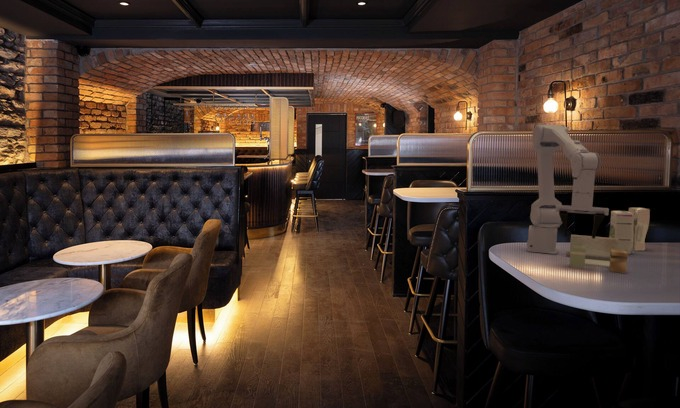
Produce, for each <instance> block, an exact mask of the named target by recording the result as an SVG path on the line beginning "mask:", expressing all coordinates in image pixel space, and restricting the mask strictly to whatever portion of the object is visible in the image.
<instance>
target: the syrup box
mask: <svg viewBox="0 0 680 408" xmlns="http://www.w3.org/2000/svg"><path fill="white" fill-rule="evenodd" d="M628 211H629V210H628ZM628 211H627V210H611V211H610V222H609V223H610V225H609V236H608V238H618V240H619V242H618V250H622V251H626V252H627V253H628V254H627V255H631V251H632V250H631V241H632V227H633V213H630V212H628Z"/></svg>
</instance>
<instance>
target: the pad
mask: <svg viewBox="0 0 680 408" xmlns="http://www.w3.org/2000/svg"><path fill="white" fill-rule="evenodd" d="M585 266H592V267H600V268H601V267H602V268H609V266H610V261H604V260H594V259H585Z"/></svg>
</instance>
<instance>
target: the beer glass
mask: <svg viewBox="0 0 680 408" xmlns="http://www.w3.org/2000/svg"><path fill="white" fill-rule="evenodd" d="M628 212H630V213H633V227H632V241H631V251H634V252H645V251H646V244H645V239H646V235H647V232H648V230H649V225H650V220H651V219H650V216H651V215H650V212H651V209H650V208H645V207H628Z"/></svg>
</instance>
